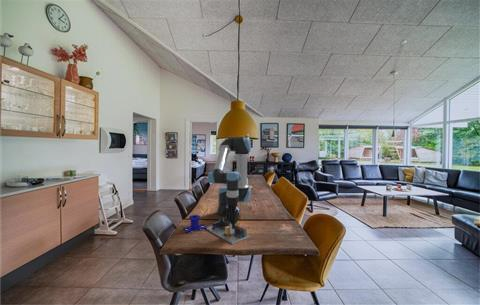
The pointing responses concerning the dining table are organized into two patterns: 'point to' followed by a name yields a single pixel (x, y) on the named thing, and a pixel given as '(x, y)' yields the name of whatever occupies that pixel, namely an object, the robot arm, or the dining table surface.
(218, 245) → the dining table surface
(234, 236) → the plate
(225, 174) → the robot arm
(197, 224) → the mount
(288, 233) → the dining table surface
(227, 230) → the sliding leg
